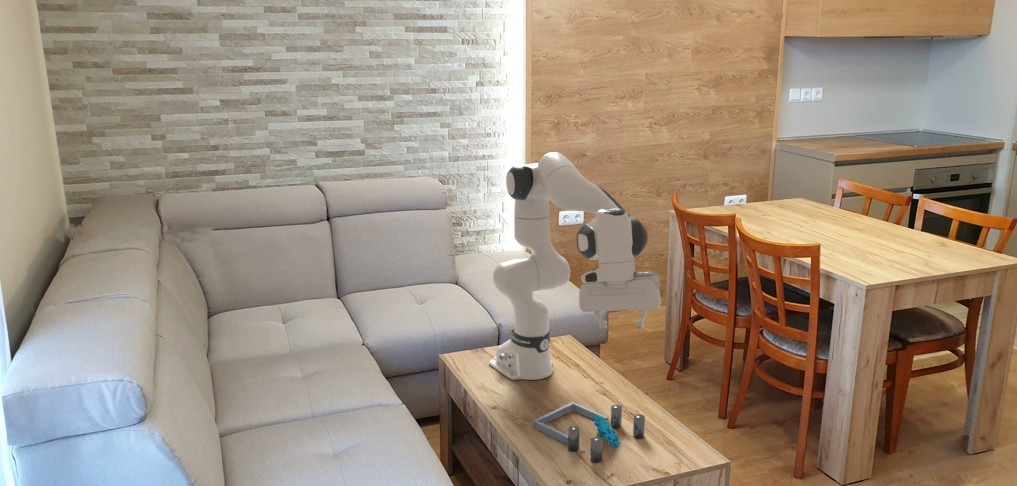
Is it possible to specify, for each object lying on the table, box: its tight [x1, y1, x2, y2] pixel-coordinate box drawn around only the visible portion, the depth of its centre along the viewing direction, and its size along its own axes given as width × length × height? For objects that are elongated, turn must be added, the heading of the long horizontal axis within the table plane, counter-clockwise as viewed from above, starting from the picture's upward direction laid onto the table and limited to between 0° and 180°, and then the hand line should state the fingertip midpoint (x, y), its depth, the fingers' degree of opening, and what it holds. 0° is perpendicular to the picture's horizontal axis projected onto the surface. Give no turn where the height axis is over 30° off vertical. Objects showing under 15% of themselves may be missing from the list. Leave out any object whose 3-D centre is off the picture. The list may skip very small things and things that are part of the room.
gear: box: [592, 415, 621, 448], centre depth 213 cm, size 11×6×10 cm
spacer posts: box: [567, 404, 646, 464], centre depth 212 cm, size 11×21×6 cm, turn 133°
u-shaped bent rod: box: [532, 401, 609, 445], centre depth 222 cm, size 14×17×2 cm
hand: (622, 328), depth 194 cm, fingers open, 8 cm apart
